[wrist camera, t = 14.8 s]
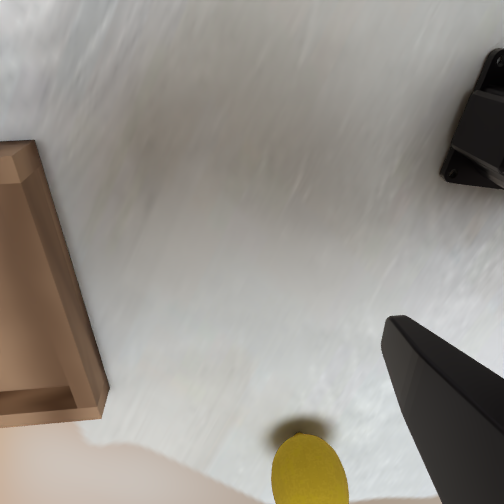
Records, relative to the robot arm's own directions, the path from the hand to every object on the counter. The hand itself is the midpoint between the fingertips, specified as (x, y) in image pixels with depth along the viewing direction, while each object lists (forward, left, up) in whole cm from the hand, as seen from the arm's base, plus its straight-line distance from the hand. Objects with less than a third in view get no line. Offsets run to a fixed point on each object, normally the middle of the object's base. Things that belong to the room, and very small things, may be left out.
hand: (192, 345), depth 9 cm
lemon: (-10, +22, -13) cm, 28 cm away
